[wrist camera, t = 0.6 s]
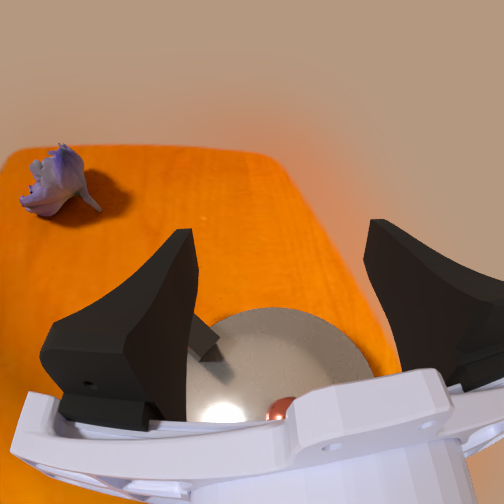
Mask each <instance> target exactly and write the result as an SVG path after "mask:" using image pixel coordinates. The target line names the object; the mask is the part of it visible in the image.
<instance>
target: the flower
mask: <svg viewBox="0 0 504 504" xmlns="http://www.w3.org/2000/svg"><path fill="white" fill-rule="evenodd" d="M58 144H59V147H60V149H58V150H57V151H50V152H47V153H48V154H50V155H54V157H49V158H44V160H43V161H42V162H41V163H40V161H37V160H34V161H33V163H32V164H31V165H30V166H29V168H30V170H31V172H32V173H33V176H34V178H35V180H36V181H37V183H35V184H34V185H33V186H30V185H29V192H30V193H31V194H30V195H28V196H26V197H24V196H23V195H22V196H21V199H19V201H20V203H22V207H26V210H27V211H28V212H30V213H36V214H38V215H39V216H52V215H54V214H55V213H57V212H58V211H59V209H60V208H61V207H62V205H63V204H64V202H66V201H67V200H68V199H69V198H71V197H72V196H79V197H81V198H82V199H83V200H84V201H85V202H86V203H87V204H89V205H91V206H92V207H93V208H94V209H96V210H97V211H98V212H101V207H100V206H99V205H98V203H97V202H96V201H95V200H94V199H93V198H92V197H91V196H90V195H89V193H88V191H87V184H86V180H85V176H84V162H83V160H82V158H81V157H80V156H79V155H78V154H77V153H76V152H75V151H73V150H72V149H71V148H69V147H68V146H66V145H65V144H64V145H60V143H58Z"/></svg>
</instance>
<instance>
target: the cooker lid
mask: <svg viewBox="0 0 504 504" xmlns="http://www.w3.org/2000/svg"><path fill="white" fill-rule="evenodd" d="M370 378H375V377H374V375H373V372H372V370H371V368H370V366H369V364H368V362H367V360H366V359H365V357H364V356H363V354H362V353H361V351H360V350H359V349H358V348H357V346H356V345H355V344H354V343H353V342H352V341H351V340H350V339H349V338H348V337H347V336H346V335H345V334H344V333H343V332H341V331H340V330H339V329H338V328H336V327H335V326H334V325H332V324H330V323H328V322H327V321H325V320H323V319H321V318H319V317H317V316H314V315H312V314H309V313H306V312H302V311H299V310H294V309H288V308H273V307H271V308H258V309H253V310H248V311H244V312H241V313H238V314H235V315H232V316H230V317H228V318H226V319H224V320H222V321H220V322H218V323H216V324H215V325H213V326H212V327H210V328H209V327H208V326H207V325H206V324H205V323H204V322H203V321H202V320H201V319H200V318H199V317H197V316H196V315H195V314H194V313H193V318H192V323H191V329H190V334H189V341H188V354H187V379H186V415H187V422H245V421H264V420H278V419H286V411H287V409H288V408H289V406H290V405H291V404H292V402H293V401H294V400H295V399H296V398H297V397H299V396H301V395H303V394H305V393H307V392H308V391H310V390H312V389H316V388H320V387H324V386H328V385H332V384H339V383H346V382H352V381H358V380H364V379H370Z"/></svg>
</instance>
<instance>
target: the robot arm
mask: <svg viewBox="0 0 504 504" xmlns="http://www.w3.org/2000/svg"><path fill="white" fill-rule="evenodd" d="M363 261H364V264H365V268H366V271H367V274H368V277H369V280H370V282H371V284H372V287H373V289H374V291H375V293H376V295H377V297H378V299H379V302H380V304H381V306H382V308H383V310H384V312H385V315H386V317H387V319H388V322H389V324H390V327H391V330H392V333H393V336H394V340H395V343H396V347H397V351H398V355H399V359H400V363H401V368H402V372H401V373H396V374H391V375H386V376H381V377H376V378H370V379H364V380H358V381H352V382H346V383H339V384H332V385H328V386H324V387H320V388H316V389H312V390H310V391H308V392H307V393H305V394H303V395H301V396H299V397H297V398H296V399H295V400H294V401H293V402H292V404H291V405H290V406H289V408H288V409H287V411H286V419H278V420H264V421H245V422H187V415H186V379H187V354H188V341H189V334H190V329H191V323H192V318H193V313H194V307H195V302H196V297H197V291H198V276H199V268H198V262H197V257H196V251H195V245H194V239H193V233H192V228H189V229H177V230H176V231H175V232H174V233H173V234H172V235H171V236H170V237H169V238H168V239H167V240H166V242H165V243H164V244H163V245H162V246H161V247H160V248H159V249H158V250H157V251H156V252H155V254H154V255H153V256H152V257H151V258H150V259H149V260H148V261H147V262H146V263H145V264H144V265H142V266H141V267H140V268H139V269H138V270H137V271H136V272H135V273H134V274H133V275H132V276H131V277H129V278H128V279H127V280H126V281H124V282H123V283H122V284H121V285H119V286H118V287H117V288H115V289H114V290H112V291H111V292H109V293H108V294H107V295H105V296H104V297H102V298H101V299H99V300H97V301H96V302H94V303H92V304H91V305H89V306H87V307H85V308H84V309H82V310H80V311H78V312H76V313H74V314H72V315H70V316H67V317H65V318H63V319H61V320H59V321H56V322H54V323H53V325H52V327H51V329H50V331H49V333H48V335H47V337H46V340H45V342H44V344H43V346H42V349H41V351H40V356H39V358H40V361H41V364H42V366H43V367H44V369H45V370H46V372H47V373H48V374H49V376H50V377H51V378H52V379H53V380H54V382H55V383H56V384H57V385H58V386H59V387H60V389H61V390H62V391H63V392H64V393H63V397H62V400H60V399H58V398H56V397H54V396H51V395H46V394H41V393H36V392H32V391H30V392H28V395H27V398H26V401H25V403H24V406H23V409H22V412H21V415H20V418H19V421H18V425H17V428H16V431H15V434H14V438H13V441H12V445H11V448H10V452H11V453H12V454H13V455H15V456H16V457H18V458H19V459H21V460H22V461H24V462H25V463H27V464H29V465H30V466H32V467H34V468H35V469H37V470H39V471H40V472H42V473H44V474H45V475H47V476H49V477H51V478H54V479H57V480H60V481H63V482H66V483H69V484H73V485H76V486H79V487H83V488H86V489H90V490H94V491H97V492H101V493H105V494H109V495H113V496H117V497H121V498H126V499H130V500H135V501H140V502H145V503H151V504H478V503H477V499H476V495H475V491H474V487H473V484H472V480H471V476H470V473H469V470H468V466H467V463H466V460H465V459H466V458H468V457H469V456H472V455H474V454H475V453H477V452H479V451H481V450H483V449H485V448H487V447H488V446H490V445H492V444H494V443H496V442H497V441H499V440H500V439H502V438H504V281H501V280H498V279H495V278H492V277H489V276H486V275H484V274H481V273H478V272H476V271H474V270H471V269H469V268H466V267H465V266H462V265H460V264H458V263H456V262H454V261H452V260H451V259H449V258H447V257H445V256H443V255H441V254H440V253H438V252H436V251H435V250H433V249H431V248H429V247H428V246H426V245H425V244H423V243H422V242H420V241H418V240H417V239H415V238H414V237H412V236H411V235H409V234H408V233H406V232H405V231H403V230H402V229H400V228H399V227H397V226H395V225H394V224H392V223H390V222H389V221H387V220H385V219H371V220H370V226H369V231H368V237H367V242H366V248H365V253H364V258H363Z"/></svg>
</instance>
